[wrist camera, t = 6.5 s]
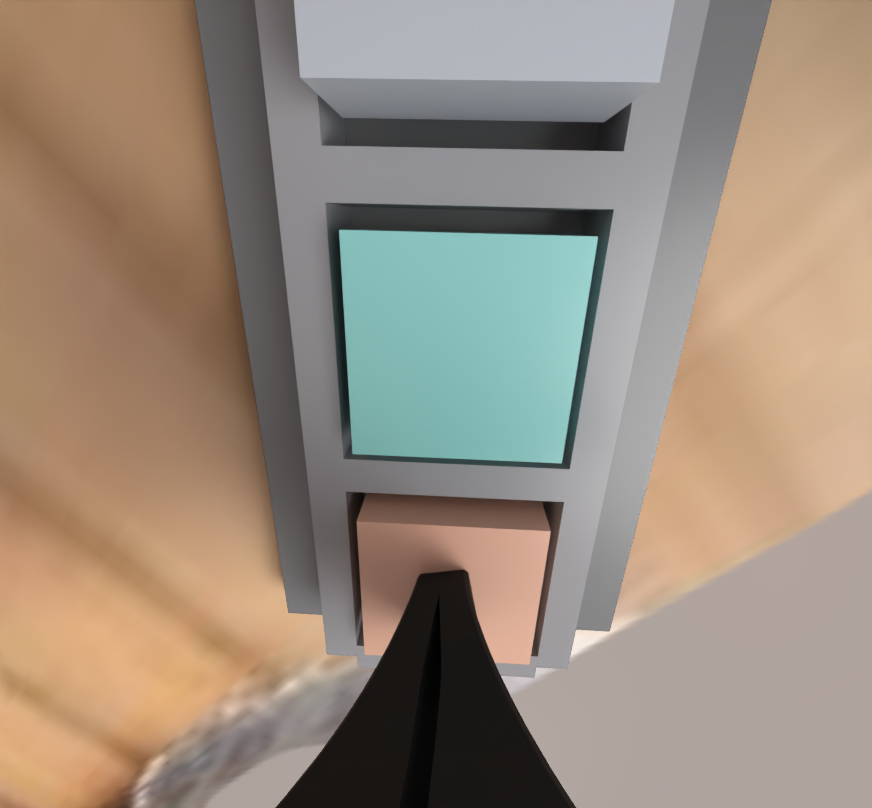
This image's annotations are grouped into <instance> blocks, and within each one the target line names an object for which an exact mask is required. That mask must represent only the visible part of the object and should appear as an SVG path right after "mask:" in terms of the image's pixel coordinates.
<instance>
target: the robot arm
mask: <svg viewBox="0 0 872 808" xmlns="http://www.w3.org/2000/svg"><path fill="white" fill-rule="evenodd" d="M276 808H576V807H575V805H574V804H573V802H572V801H571V799H570V798H569V796H568V795H567V793H566V792H565V790H564V788H563V787H562V785H561V784H560V782H559V781H558V779H557V777H556V776H555V774H554V773H553V771H552V769H551V768H550V766H549V764H548V763H547V761H546V759H545V757H544V756H543V754H542V752H541V751H540V749H539V747H538V745H537V744H536V742H535V740H534V739H533V737H532V735H531V734H530V732H529V730H528V728H527V727H526V725H525V723H524V721H523V719H522V717H521V715H520V713H519V712H518V710H517V708H516V706H515V704H514V702H513V700H512V698H511V696H510V694H509V692H508V690H507V688H506V686H505V684H504V682H503V680H502V678H501V675H500V673H499V671H498V669H497V666H496V664H495V662H494V660H493V657H492V655H491V653H490V650H489V648H488V645H487V643H486V640H485V637H484V635H483V632H482V629H481V626H480V623H479V621H478V618H477V614H476V609H475V604H474V599H473V594H472V588H471V583H470V578H469V573H468V572H467V571H466V570H464V569H463V570H453V571H444V572H434V573H424V574H420V575H419V576H418V578H417V581H416V584H415V586H414V589H413V592H412V594H411V597H410V599H409V601H408V604H407V606H406V608H405V611H404V613H403V615H402V618H401V620H400V622H399V624H398V626H397V628H396V630H395V632H394V634H393V636H392V638H391V640H390V642H389V644H388V646H387V648H386V650H385V652H384V654H383V656H382V657H381V659H380V661H379V663H378V665H377V667H376V668H375V670H374V672H373V674H372V676H371V677H370V679H369V681H368V682H367V684H366V686H365V687H364V689H363V691H362V692H361V694H360V696H359V697H358V699H357V700H356V702H355V703H354V705H353V707H352V708H351V710H350V711H349V713H348V714H347V716H346V717H345V719H344V720H343V721H342V723H341V724H340V726H339V727H338V729H337V730H336V731H335V733H334V734H333V736H332V737H331V739H330V740H329V741H328V743H327V744H326V745H325V747H324V748H323V750H322V751H321V752H320V754H319V755H318V756H317V758H316V759H315V760H314V761H313V763H312V764H311V765H310V766H309V767H308V769H307V770H306V771H305V773H304V774H303V775H302V776H301V777H300V779H299V780H298V781H297V782H296V784H295V785H294V786H293V787H292V789H291V790H290V791H289V792H288V794H287V795H286V796H285V797H284V799H283V800H282V801H281V802H280V803H279V804H278V806H277V807H276Z"/></svg>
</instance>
